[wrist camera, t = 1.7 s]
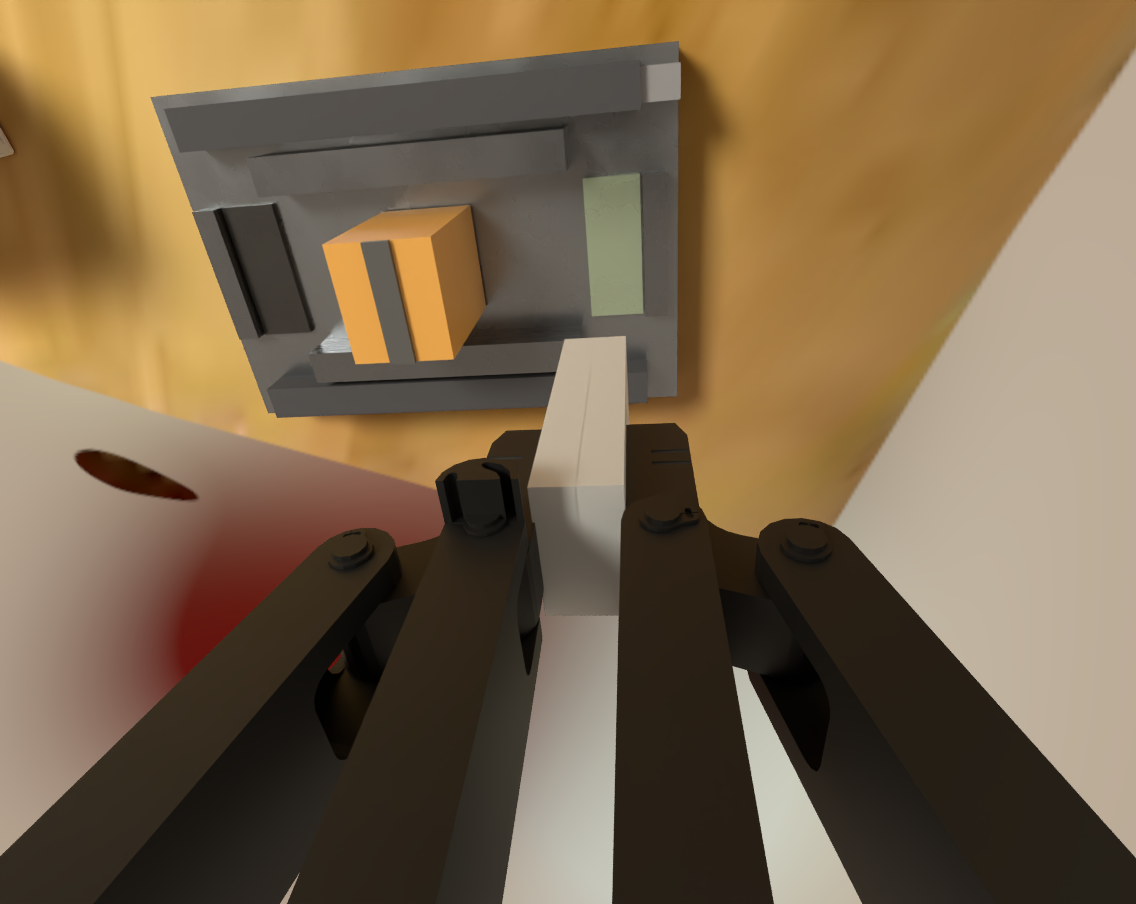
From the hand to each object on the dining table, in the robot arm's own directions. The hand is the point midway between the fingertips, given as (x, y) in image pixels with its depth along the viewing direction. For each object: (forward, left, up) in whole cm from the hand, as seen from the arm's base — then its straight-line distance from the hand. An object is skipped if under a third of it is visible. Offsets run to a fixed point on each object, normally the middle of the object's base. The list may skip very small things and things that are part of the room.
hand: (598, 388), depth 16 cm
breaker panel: (0, -8, -17) cm, 19 cm away
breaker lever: (0, -8, -14) cm, 16 cm away
